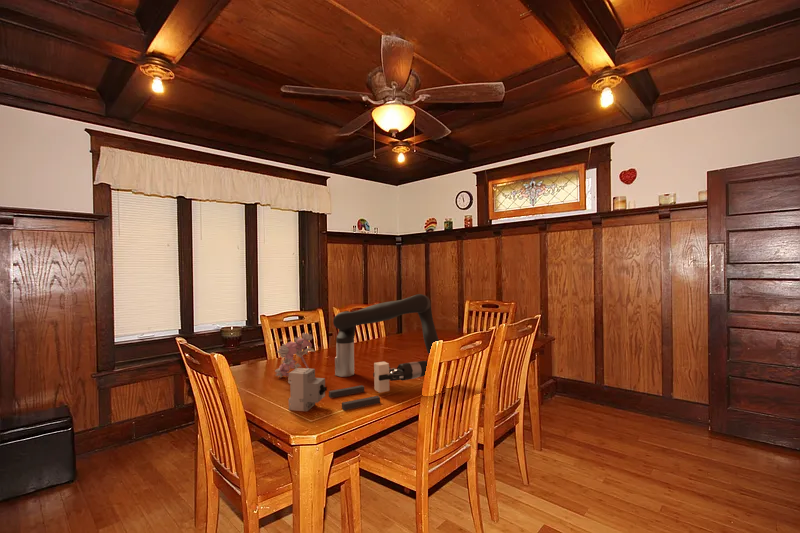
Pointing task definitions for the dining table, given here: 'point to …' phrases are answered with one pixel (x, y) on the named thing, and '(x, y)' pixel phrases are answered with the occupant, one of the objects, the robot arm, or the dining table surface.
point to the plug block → (381, 369)
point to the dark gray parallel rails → (354, 403)
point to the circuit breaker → (305, 389)
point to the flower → (290, 350)
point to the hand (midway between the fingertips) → (376, 376)
